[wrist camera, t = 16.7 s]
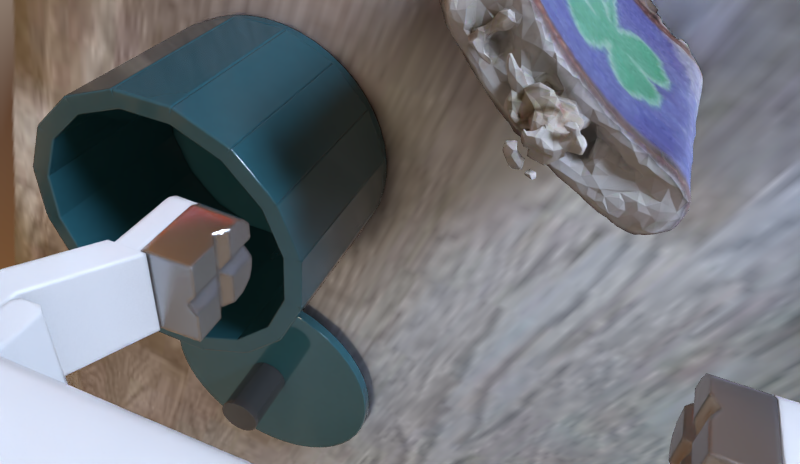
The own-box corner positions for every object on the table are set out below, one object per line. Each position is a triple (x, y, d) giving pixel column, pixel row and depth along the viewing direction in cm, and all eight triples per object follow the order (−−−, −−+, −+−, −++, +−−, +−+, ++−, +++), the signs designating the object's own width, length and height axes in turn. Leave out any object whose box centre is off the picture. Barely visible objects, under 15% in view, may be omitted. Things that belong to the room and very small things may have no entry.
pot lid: (380, 326, 39) (345, 386, 35) (366, 459, 47) (336, 518, 44) (178, 252, 42) (127, 301, 38) (199, 390, 50) (159, 440, 47)
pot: (398, 52, 28) (301, 146, 22) (377, 273, 36) (301, 389, 30) (147, -13, 31) (-3, 54, 25) (178, 204, 39) (71, 296, 33)
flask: (718, 82, 24) (706, 258, 16) (646, 125, 26) (604, 301, 18) (558, -131, 22) (456, -50, 14) (493, -68, 24) (371, 34, 16)
